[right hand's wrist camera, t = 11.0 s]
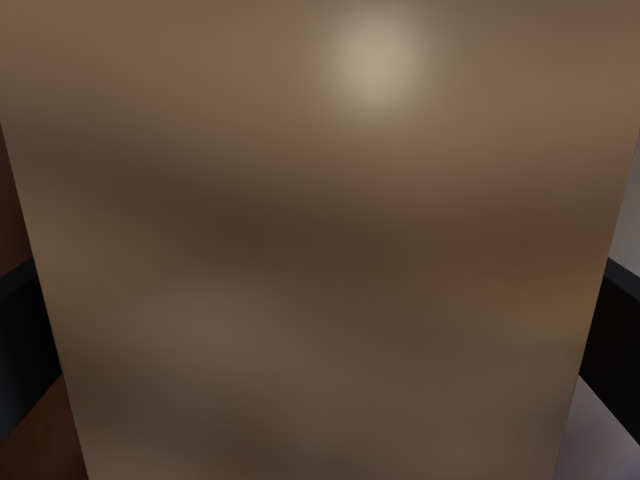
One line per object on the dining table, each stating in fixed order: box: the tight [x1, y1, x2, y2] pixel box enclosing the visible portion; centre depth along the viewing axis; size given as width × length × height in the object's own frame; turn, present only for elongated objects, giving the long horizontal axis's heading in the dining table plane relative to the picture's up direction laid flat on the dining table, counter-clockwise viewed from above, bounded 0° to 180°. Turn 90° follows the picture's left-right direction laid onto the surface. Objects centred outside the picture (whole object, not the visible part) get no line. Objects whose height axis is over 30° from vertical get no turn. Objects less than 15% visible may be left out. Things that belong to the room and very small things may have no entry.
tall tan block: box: [0, 0, 640, 480], centre depth 12 cm, size 14×10×10 cm
